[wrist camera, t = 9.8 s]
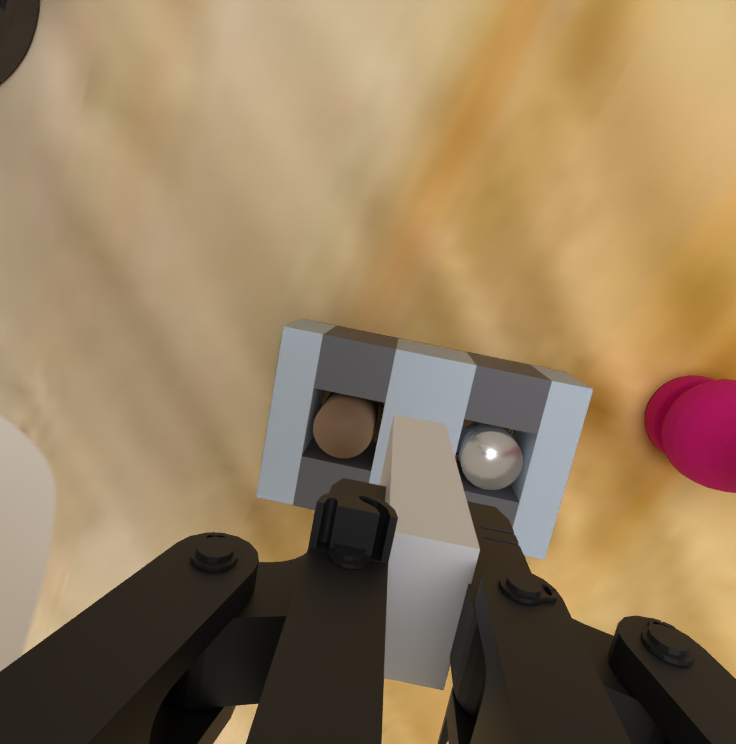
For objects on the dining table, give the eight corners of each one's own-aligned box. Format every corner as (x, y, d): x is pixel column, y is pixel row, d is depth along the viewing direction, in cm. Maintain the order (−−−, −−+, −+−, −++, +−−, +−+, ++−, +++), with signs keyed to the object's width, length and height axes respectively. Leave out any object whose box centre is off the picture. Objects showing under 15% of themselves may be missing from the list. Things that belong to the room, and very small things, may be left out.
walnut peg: (322, 427, 41) (308, 451, 35) (331, 377, 40) (318, 394, 34) (372, 437, 41) (366, 464, 35) (382, 388, 40) (378, 407, 34)
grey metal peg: (448, 453, 40) (454, 482, 35) (460, 404, 40) (468, 426, 34) (499, 464, 40) (514, 495, 34) (512, 415, 39) (529, 438, 34)
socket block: (277, 466, 42) (256, 497, 36) (302, 318, 39) (283, 326, 34) (525, 519, 41) (544, 560, 35) (565, 372, 39) (593, 389, 33)
